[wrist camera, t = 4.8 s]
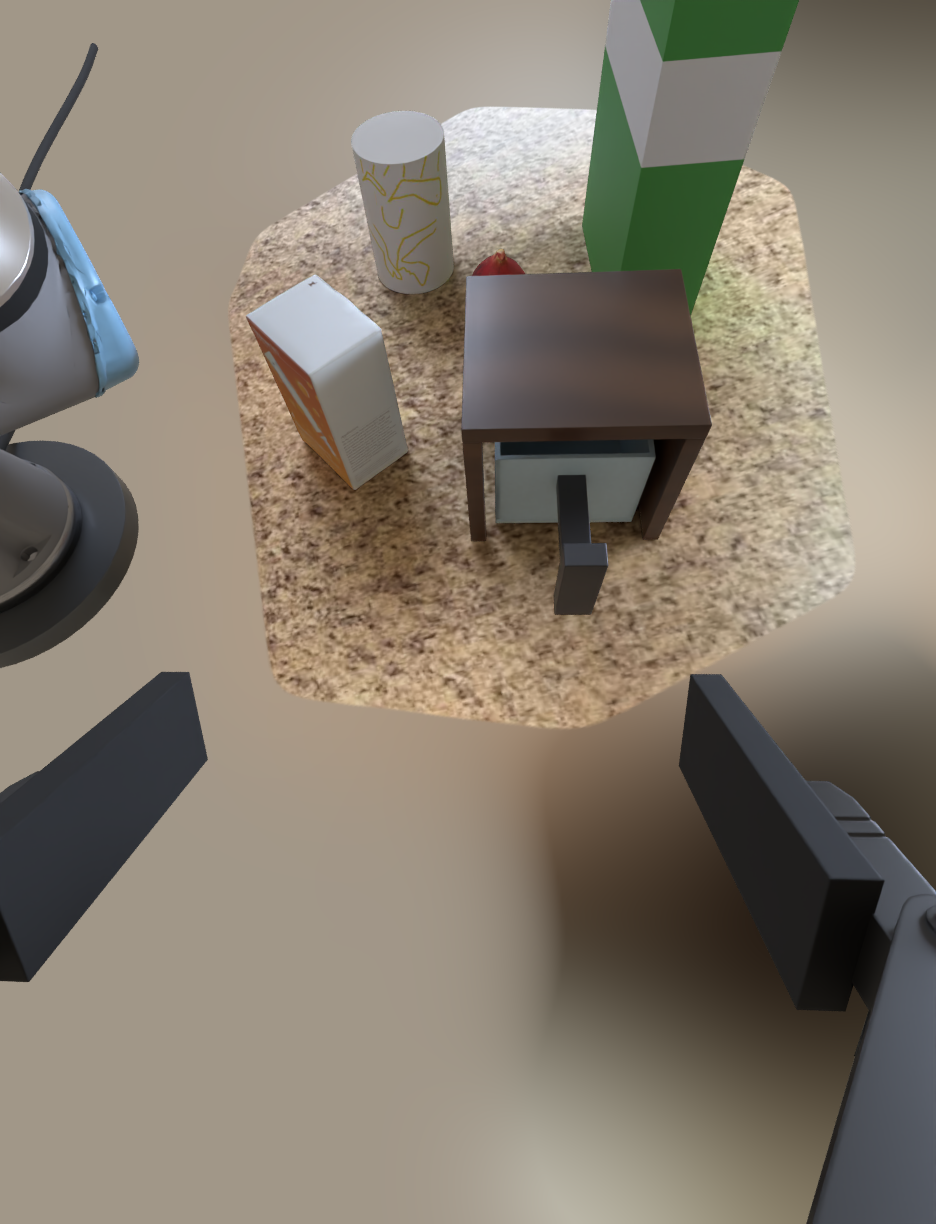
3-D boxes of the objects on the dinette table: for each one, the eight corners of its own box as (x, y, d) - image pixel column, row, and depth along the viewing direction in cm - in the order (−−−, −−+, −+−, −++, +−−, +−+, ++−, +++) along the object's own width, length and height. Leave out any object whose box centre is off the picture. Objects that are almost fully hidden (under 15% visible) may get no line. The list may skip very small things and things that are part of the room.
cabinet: (658, 539, 46) (712, 424, 34) (471, 541, 47) (461, 429, 35) (640, 406, 52) (681, 268, 40) (473, 409, 53) (466, 275, 41)
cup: (373, 294, 60) (345, 165, 49) (381, 244, 63) (356, 112, 52) (451, 293, 59) (441, 162, 48) (455, 242, 63) (446, 109, 52)
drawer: (643, 628, 43) (680, 565, 34) (495, 628, 43) (494, 566, 35) (619, 417, 51) (644, 323, 42) (495, 419, 52) (494, 327, 43)
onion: (462, 345, 56) (456, 266, 49) (478, 305, 58) (475, 224, 51) (520, 355, 55) (523, 276, 48) (534, 314, 57) (539, 233, 50)
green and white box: (582, 225, 63) (626, -121, 41) (650, 219, 63) (731, -131, 41) (606, 341, 55) (676, -5, 34) (683, 335, 55) (804, -16, 33)
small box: (300, 440, 52) (242, 313, 40) (356, 403, 54) (315, 270, 42) (353, 493, 50) (307, 374, 38) (410, 452, 51) (383, 326, 39)
